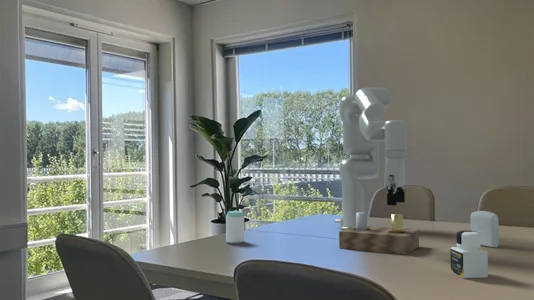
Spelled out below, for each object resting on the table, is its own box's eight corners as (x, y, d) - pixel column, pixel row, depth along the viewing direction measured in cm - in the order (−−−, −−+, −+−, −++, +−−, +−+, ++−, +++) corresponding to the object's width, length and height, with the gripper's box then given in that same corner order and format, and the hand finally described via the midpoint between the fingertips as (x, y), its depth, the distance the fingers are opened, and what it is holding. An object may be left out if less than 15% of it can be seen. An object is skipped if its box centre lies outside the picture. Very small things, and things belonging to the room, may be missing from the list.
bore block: (339, 248, 170) (339, 231, 170) (355, 240, 183) (355, 225, 183) (406, 254, 157) (406, 236, 157) (419, 246, 171) (418, 229, 171)
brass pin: (390, 243, 166) (389, 215, 166) (393, 241, 170) (392, 213, 170) (401, 244, 164) (400, 215, 164) (404, 242, 168) (404, 214, 168)
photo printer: (468, 243, 175) (468, 210, 175) (476, 242, 177) (476, 209, 177) (492, 248, 166) (492, 212, 166) (501, 247, 168) (500, 212, 168)
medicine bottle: (450, 272, 134) (449, 229, 134) (474, 271, 134) (473, 228, 134) (462, 278, 126) (462, 233, 127) (488, 277, 127) (487, 233, 127)
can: (247, 241, 186) (247, 210, 186) (239, 244, 179) (238, 212, 180) (231, 240, 189) (231, 210, 189) (222, 243, 182) (222, 212, 183)
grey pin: (354, 240, 173) (354, 213, 173) (358, 238, 176) (358, 212, 177) (365, 241, 171) (364, 213, 171) (369, 239, 174) (368, 212, 174)
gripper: (392, 154, 177) (392, 200, 177) (377, 155, 162) (377, 205, 162) (412, 154, 173) (413, 201, 173) (399, 155, 158) (399, 207, 158)
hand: (396, 203), depth 167 cm, fingers open, 9 cm apart
